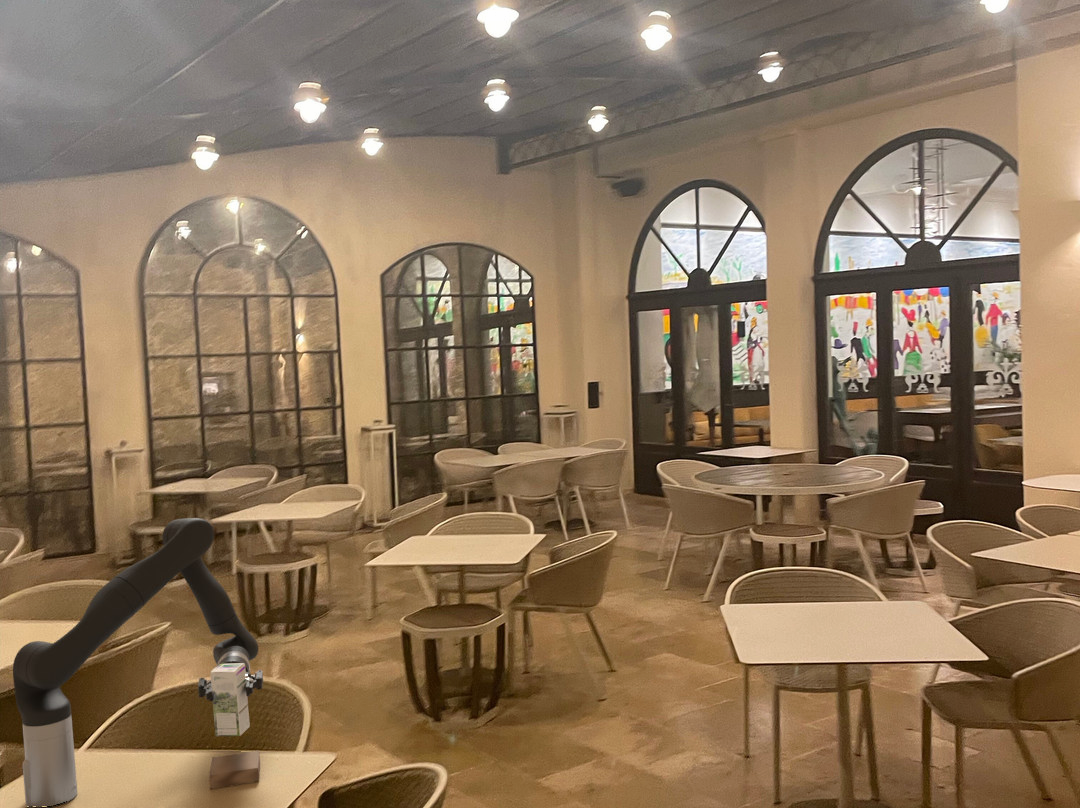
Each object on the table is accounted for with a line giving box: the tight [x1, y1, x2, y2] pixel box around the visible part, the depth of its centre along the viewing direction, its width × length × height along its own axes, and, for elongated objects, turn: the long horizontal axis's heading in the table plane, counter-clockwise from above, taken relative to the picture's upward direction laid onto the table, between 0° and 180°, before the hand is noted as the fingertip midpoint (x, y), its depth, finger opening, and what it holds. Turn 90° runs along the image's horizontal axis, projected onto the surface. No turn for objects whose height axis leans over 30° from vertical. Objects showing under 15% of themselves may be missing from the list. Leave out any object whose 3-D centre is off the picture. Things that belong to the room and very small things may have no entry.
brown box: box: [208, 749, 261, 790], centre depth 211 cm, size 10×10×3 cm
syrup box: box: [210, 663, 251, 737], centre depth 211 cm, size 6×6×14 cm
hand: (229, 694), depth 208 cm, fingers closed on syrup box, 7 cm apart
